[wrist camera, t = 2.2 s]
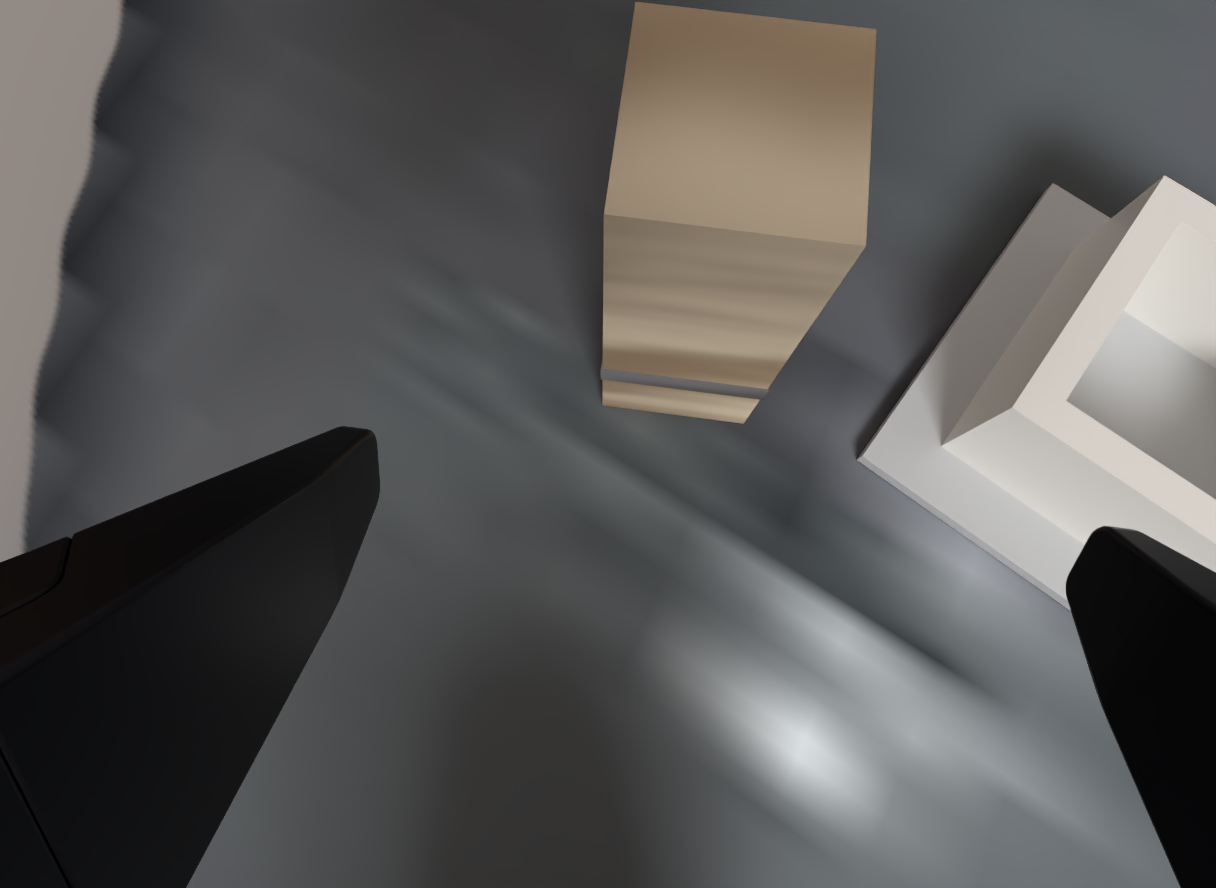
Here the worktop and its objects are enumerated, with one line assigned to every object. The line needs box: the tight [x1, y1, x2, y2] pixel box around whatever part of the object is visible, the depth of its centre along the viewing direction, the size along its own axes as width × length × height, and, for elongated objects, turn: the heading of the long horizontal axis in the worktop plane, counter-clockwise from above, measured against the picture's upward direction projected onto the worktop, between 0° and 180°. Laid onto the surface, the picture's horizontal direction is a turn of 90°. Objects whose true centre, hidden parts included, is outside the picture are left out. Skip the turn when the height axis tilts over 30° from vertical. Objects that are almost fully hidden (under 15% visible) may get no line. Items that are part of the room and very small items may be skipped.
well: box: [857, 175, 1216, 611], centre depth 21 cm, size 12×12×4 cm
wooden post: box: [601, 2, 876, 423], centre depth 18 cm, size 5×5×11 cm
